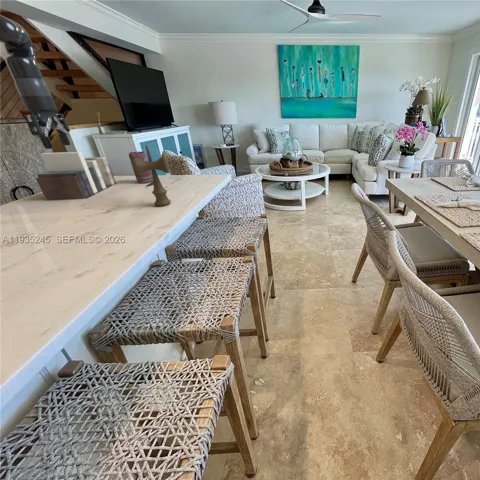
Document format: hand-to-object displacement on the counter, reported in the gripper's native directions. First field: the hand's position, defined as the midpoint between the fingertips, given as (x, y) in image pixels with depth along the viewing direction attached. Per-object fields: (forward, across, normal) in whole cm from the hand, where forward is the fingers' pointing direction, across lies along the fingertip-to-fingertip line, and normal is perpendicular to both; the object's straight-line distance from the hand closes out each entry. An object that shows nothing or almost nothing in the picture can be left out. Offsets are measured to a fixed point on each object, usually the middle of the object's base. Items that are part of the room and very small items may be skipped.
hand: (58, 146), depth 93 cm
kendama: (+19, +14, +35) cm, 42 cm away
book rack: (+18, -4, 0) cm, 19 cm away
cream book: (+17, 0, 0) cm, 17 cm away
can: (+19, -14, +18) cm, 30 cm away
